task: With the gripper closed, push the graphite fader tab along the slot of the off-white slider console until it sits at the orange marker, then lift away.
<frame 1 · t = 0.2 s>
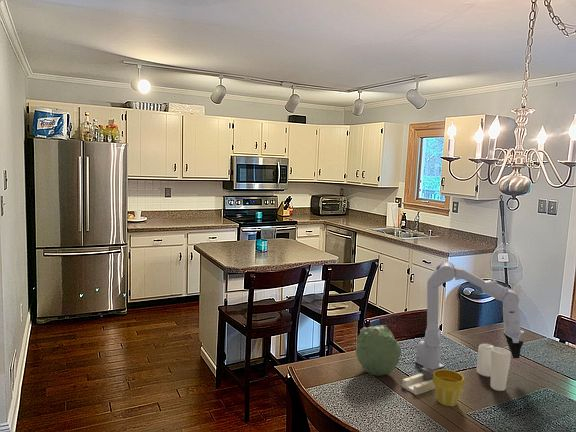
hand: (514, 354, 175), 11 cm above the table, tool pointing down, fingers open, 7 cm apart
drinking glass: (497, 388, 169), on the table
plant pot: (446, 401, 158), on the table
slider console: (422, 386, 168), on the table
cabbage: (376, 374, 177), on the table
can: (484, 373, 181), on the table
fader tab: (428, 375, 169), point 4 cm above the table, slide at 0.0 cm
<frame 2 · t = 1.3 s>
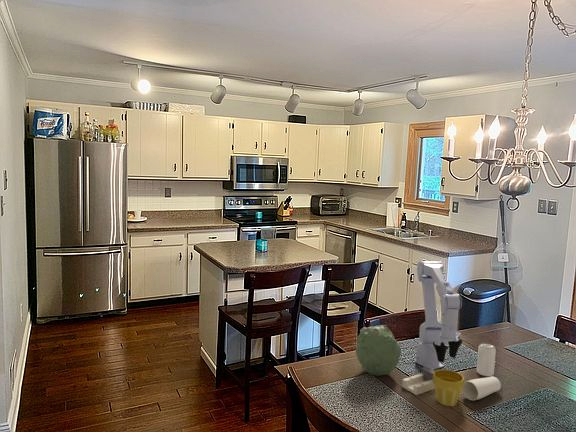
hand: (446, 359, 170), 10 cm above the table, tool pointing down, fingers open, 7 cm apart
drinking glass: (495, 383, 167), point 3 cm above the table
everything else where it was.
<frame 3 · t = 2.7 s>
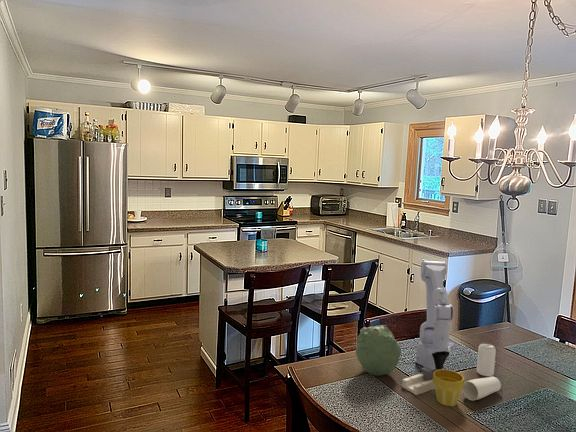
hand: (438, 368, 172), 5 cm above the table, tool pointing down, fingers closed
nothing on the table moved.
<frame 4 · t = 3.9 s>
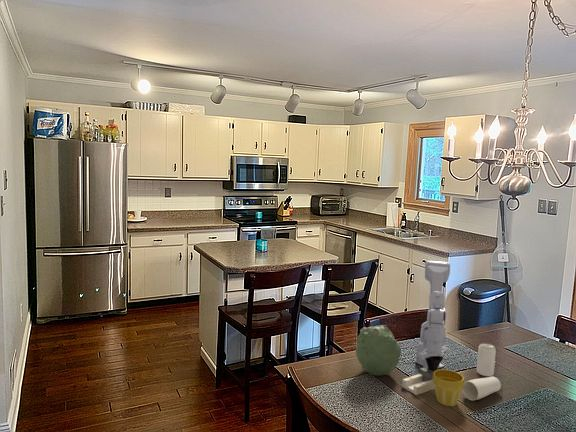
hand: (432, 373, 170), 4 cm above the table, tool pointing down, fingers closed
fader tab: (427, 375, 169), point 4 cm above the table, slide at 0.8 cm, touching gripper
everything else where it was.
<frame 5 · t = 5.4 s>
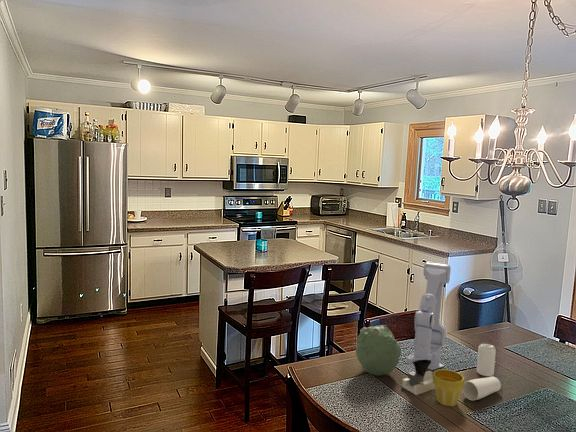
hand: (420, 377, 167), 4 cm above the table, tool pointing down, fingers closed
fader tab: (415, 379, 165), point 4 cm above the table, slide at 7.6 cm, touching gripper
everything else where it was.
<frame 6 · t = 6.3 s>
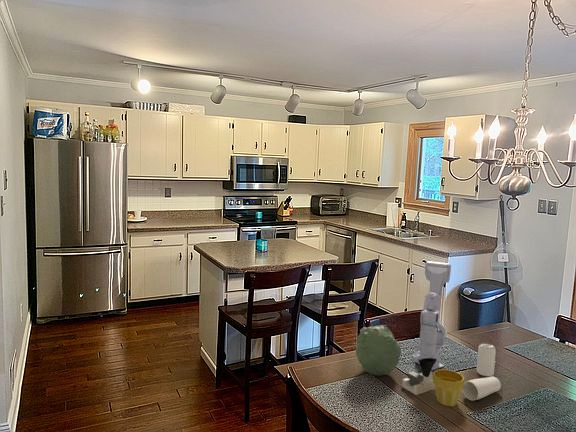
hand: (425, 375, 168), 4 cm above the table, tool pointing down, fingers closed
fader tab: (415, 379, 165), point 4 cm above the table, slide at 7.7 cm
everything else where it was.
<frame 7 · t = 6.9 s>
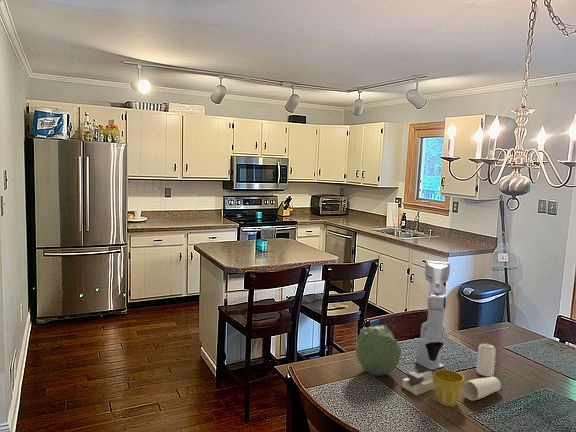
hand: (432, 359, 170), 9 cm above the table, tool pointing down, fingers closed
nothing on the table moved.
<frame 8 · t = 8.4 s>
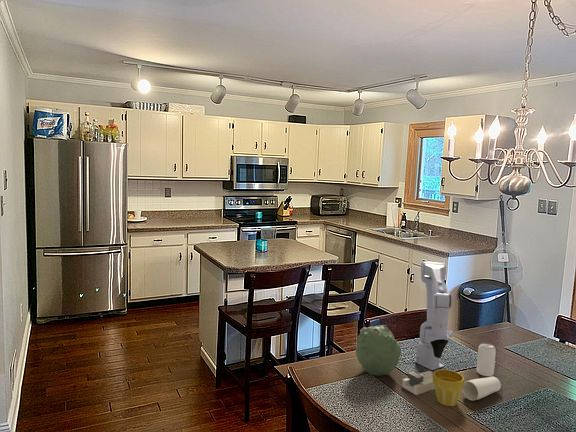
hand: (437, 357, 172), 9 cm above the table, tool pointing down, fingers closed
nothing on the table moved.
at the end: fader tab slide at 7.7 cm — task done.
